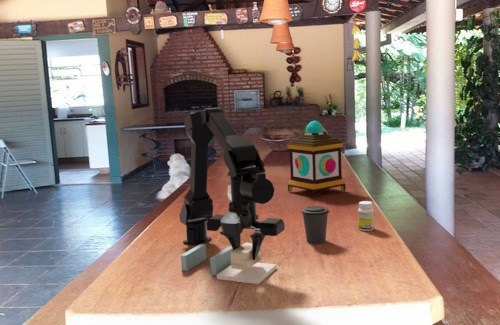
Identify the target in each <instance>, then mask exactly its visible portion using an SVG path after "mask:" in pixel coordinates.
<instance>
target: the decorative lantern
mask: <svg viewBox="0 0 500 325" xmlns="http://www.w3.org/2000/svg"><path fill="white" fill-rule="evenodd" d="M286 145H287V148H288V150H289V163H290V164H289V165H290V179H289V181H288V184H287V191H288V192H289V193H292V192H293V188H297V189H303V190H306V191H311V193H312V197H313V198H314V199H316V198H317V195H318V194H317V193H318V192H319V191H323V190H328V189H333V188H337V187H340V190H341V193H344V192H346V182H345V180H344V179H343V177H342V176H343V175H342V173H343V172H342V148H343V146H344V141H342V140H341V139H339V137H333V136H332V135H330V134H329V133H327V131H324V128H323V125H322V124H321V123H320V122H319V121H318V120H312V121H310V122H309V123H308V124H307V125H306V128H305V132H302V133H301V134H300V135H299V136H298V137H297V138H292V139H291V140H290V141H288V143H286Z"/></svg>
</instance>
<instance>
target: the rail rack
mask: <svg viewBox="0 0 500 325" xmlns="http://www.w3.org/2000/svg"><path fill="white" fill-rule="evenodd" d="M206 245H207V244H206V243H204V244H199V245H196V246H194V247H193V248H191V249H189V250H188V251H186V252H184V253H182V254H181V255H180V260H181V261H180V264H181V271H184V272H188V271H190V270H191V269H192V268H194V267H195V266H197V265H199V264H200V263H202V262H203V261H205V260H206V259H207V246H206ZM232 251H233V248H232V246H226V247H225V248H224V249H223V250H221V251H219V252H218V253H216V254H214V255H213V256H211V257H210V259H209V262H210V273H211V275H216V276H217V274H219V273H220V272H222V271H223V270H224V269H226V268H227V267H228V266H230V265H231V252H232Z"/></svg>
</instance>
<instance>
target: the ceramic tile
mask: <svg viewBox="0 0 500 325" xmlns="http://www.w3.org/2000/svg"><path fill="white" fill-rule="evenodd" d="M277 269H278V268H277V264H276V263H275V264H274V263H266V262H265V263H264V262H257V263H256V264H254V265H253V266H251V267H250V268H249V269H247V270H240V269H232V268H231V265H229V266H228V267H226V268H225V269H224V270H222V271H221V272H220V273H218V274H217V275H216V279H217V280H222V281H223V280H224V281H231V282H240V283H244V284H245V283H246V284H247V283H248V284H254V285H259V284H261V283H262V282H263V281H265V279H266V278H267V277H268V276H270V275H271V274H272V273H273V272H274V271H276V270H277Z"/></svg>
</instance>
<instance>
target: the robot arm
mask: <svg viewBox="0 0 500 325" xmlns="http://www.w3.org/2000/svg"><path fill="white" fill-rule="evenodd" d="M183 123H184V128H185V133H186V135H187V136H188V139H189V140H190V141H191V145H190V146H191V150H190V152H191V153H190V178H189V179H190V181H189V182H190V184H189V185H190V186H189V190H188V192H187V193H186V194H185V195H184V199H183V205H182V207H181V210H180V212H179V221H180V223H182V224H183V225H185V226H186V231H185V232H186V239H185V240H183V241H182V243H183V244H188V245H189V244H190V245H196V246H198V245H199V244H206V243H207V242H209V241H211V240H212V237H211V236H208V232H207V231H212V232H218V231H219V229H220V232H219V234H220V235H222V236H224V237H225V238H227V240H228V241H229V244H230V247H232V248H233V250H235V249H237V248H238V247H240V246H241V241H242V240H241V235H242V233H243V231H244V230H253V232H254V233H251V235H250V238H251V241H252V256H253V260H256V258H257V255H258V252H259V250H260V251H261V246H262V244H263V242H264V239H265V237H266V236H268V237H277V236H279V234H281V233H282V232H284V231H285V228H286V227H285V222H284V220H283V219H282V218H275V217H273V218H272V217H268V218H266V219H265V220H263V221H259V220H258V219H259V214H257V209H256V208H257V206H256V204H260V205H261V204H262V205H264V204H267V203H269V202H270V201H271V200H272V199H273V197H274V194H275V186H274V184H273V183H272V182H271V180H270V179H267V177H266V169H265V164H264V162H263V159H262V158H261V156H260V154H259V151H258V149H257V147H256V146H255V144H253V143H252V142H251V141H250V140H249V139H247V138H245V137H242V136H240V135H239V134H238V133H237V130H235V128H233V126H232V124H231V123H230V122H229V121H228V119H227V118H226V116H225V115H224V112H223V109H222V108H221V107H207V108H204V109H201V110H200V111H197V112H189V113H188V115H186V116H185V118H184V122H183ZM214 137H215V139H216V140H217V142H218V144H219V145H220V146H221V147H222V149H223V152H222V153H223V154H222V158H223V161H224V164H225V166H226V167H227V169H228V172H227V176H228V177H229V178H230V179H229V180H230V183H231V199H232V201H231V200H230V202H228V211H227V212H225V214H219V213H218V214H217V213H216V214H215V215H213V213H214V205H213V203H214V201H213V199H212V198H211V196H210V194H209V193H208V190H207V189H208V166H209V144H210V143H211V142H212V141H213V139H214Z"/></svg>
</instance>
